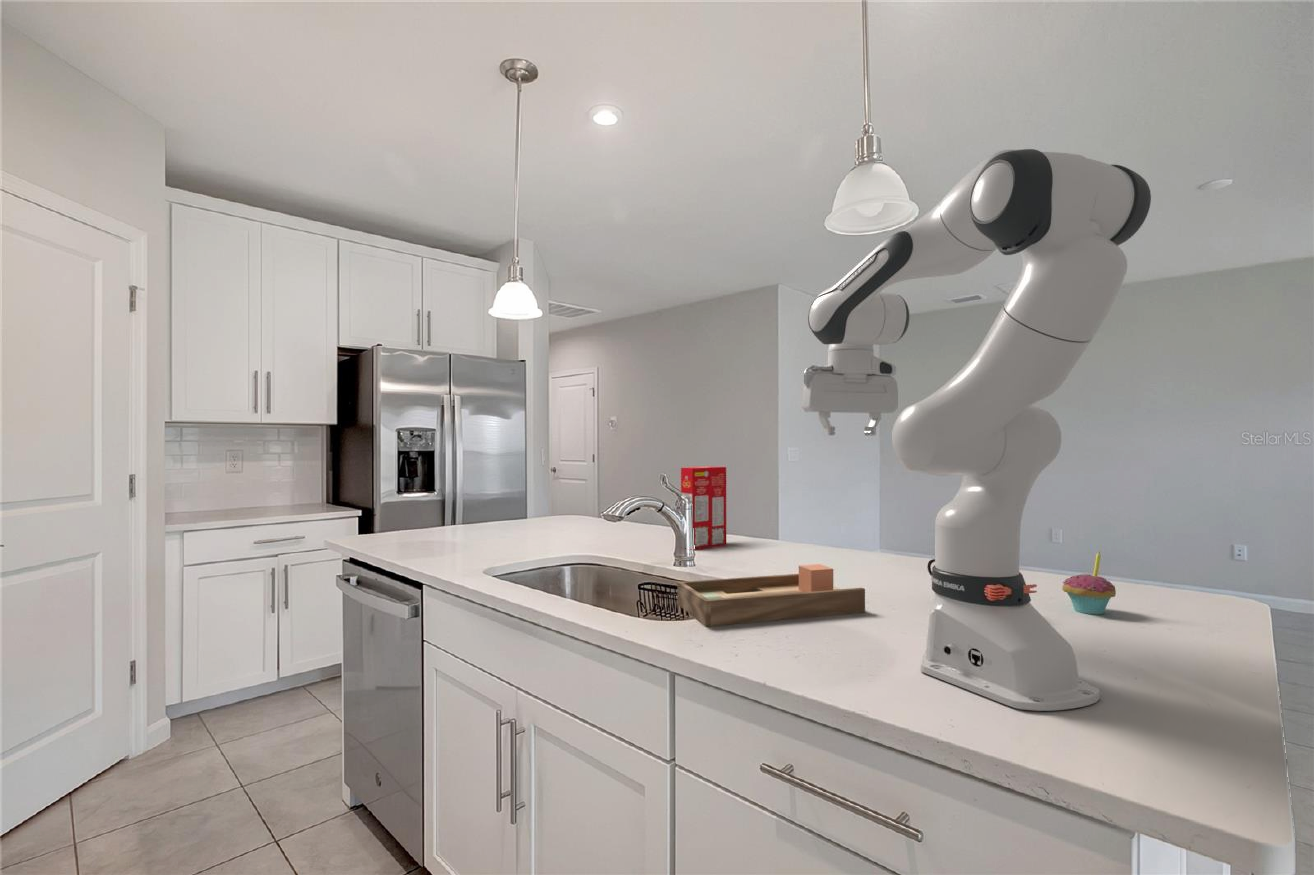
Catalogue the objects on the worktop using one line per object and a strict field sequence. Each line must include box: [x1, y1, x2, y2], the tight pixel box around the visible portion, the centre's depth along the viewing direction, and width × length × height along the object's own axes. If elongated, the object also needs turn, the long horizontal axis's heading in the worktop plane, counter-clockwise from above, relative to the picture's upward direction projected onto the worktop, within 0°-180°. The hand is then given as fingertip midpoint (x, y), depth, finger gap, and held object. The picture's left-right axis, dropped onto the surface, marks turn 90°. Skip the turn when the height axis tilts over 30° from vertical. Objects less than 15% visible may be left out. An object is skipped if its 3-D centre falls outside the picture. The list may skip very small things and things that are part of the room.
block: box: [798, 563, 834, 592], centre depth 127 cm, size 5×5×5 cm
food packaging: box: [680, 466, 727, 551], centre depth 197 cm, size 15×5×25 cm, turn 130°
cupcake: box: [1061, 549, 1117, 616], centre depth 121 cm, size 9×8×12 cm
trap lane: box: [676, 573, 866, 627], centre depth 124 cm, size 16×33×4 cm, turn 106°
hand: (849, 435), depth 125 cm, fingers open, 8 cm apart
